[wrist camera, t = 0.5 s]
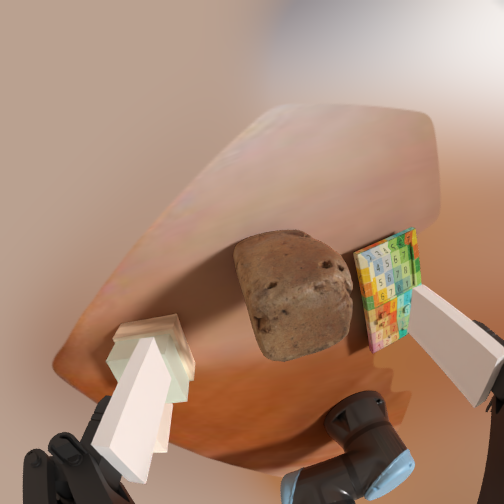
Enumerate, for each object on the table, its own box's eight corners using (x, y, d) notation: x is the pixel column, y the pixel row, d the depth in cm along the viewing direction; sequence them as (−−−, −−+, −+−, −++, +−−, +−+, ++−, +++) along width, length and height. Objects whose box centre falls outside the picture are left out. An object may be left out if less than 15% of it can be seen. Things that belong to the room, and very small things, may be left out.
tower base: (195, 361, 44) (193, 380, 39) (143, 369, 43) (137, 387, 38) (177, 312, 41) (172, 329, 36) (121, 322, 40) (112, 338, 35)
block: (242, 287, 41) (263, 375, 21) (228, 239, 38) (238, 301, 19) (311, 266, 41) (378, 335, 22) (301, 219, 39) (374, 258, 20)
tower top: (189, 379, 39) (187, 401, 34) (138, 385, 38) (132, 405, 33) (170, 333, 36) (164, 353, 31) (116, 341, 36) (105, 360, 31)
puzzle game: (375, 356, 42) (359, 256, 37) (363, 342, 47) (345, 247, 41) (424, 327, 43) (418, 229, 37) (411, 317, 47) (402, 223, 41)
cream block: (172, 405, 46) (167, 452, 34) (146, 407, 45) (136, 452, 34) (161, 384, 44) (151, 433, 32) (133, 387, 44) (119, 433, 32)
